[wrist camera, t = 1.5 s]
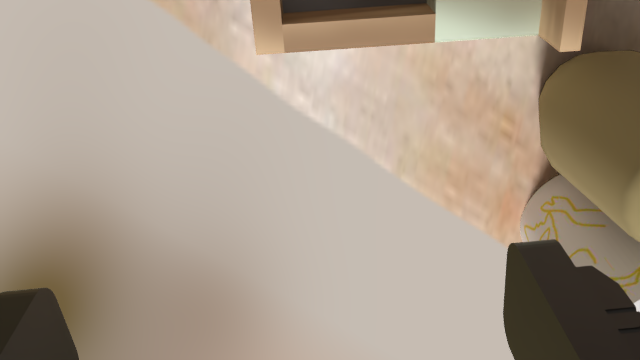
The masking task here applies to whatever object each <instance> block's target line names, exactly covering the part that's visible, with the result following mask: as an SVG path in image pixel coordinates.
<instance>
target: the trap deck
mask: <svg viewBox="0 0 640 360" xmlns="http://www.w3.org/2000/svg"><path fill="white" fill-rule="evenodd" d="M250 3H251V12H252V20H253V29H254V37H255V46H256V54H257V55H261V54H276V53H290V52H304V51H319V50H333V49H348V48H362V47H377V46H391V45H405V44H420V43H434V42H449V41H463V40H477V39H492V38H506V37H521V36H535V35H539V36H540V37H541V38H542V39H544V40H545V41H546V42H547V43H549V44H550V45H551V46H553V47H554V48H555V49H556V50H558V51H559V52H568V51H580V49H581V42H582V36H583V29H584V23H585V16H586V9H587V3H588V0H250Z"/></svg>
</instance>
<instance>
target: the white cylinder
mask: <svg viewBox="0 0 640 360" xmlns="http://www.w3.org/2000/svg"><path fill="white" fill-rule="evenodd" d="M520 234H521V238H522V241H523V242H530V241H540V240H551V239H555V240H557V241H558V242H559V243H560V244H561V246H562V247H563V249H564V250H565V252H566V253H567V255H568V256H569V258H570V259H571V260H572V262H573V263H574V265H575V266H576V267H581V266H591V265H592V266H593V267H595V268H596V269H598V270H599V271H601V272H602V273H604V274H605V275H607V276H608V277H610V278H611V279H613V280H614V281H615V282H617V283H618V284H619V285H620V286H621V287H622V289H623V290H624V291H625V293H626V294H627V295H628V297H629V298H630V299H631V301H632V302H633V303H634V305H635V306H636V311H637V312H638V311H640V242H638V241H637V240H635V239H634V238H632V237H631V236H629V235H628V234H627V233H626V232H625V231H624V230H623V229H622V228H620V227H619V226H618V225H617V224H616V223H615V222H614V221H613V220H611V219H610V218H609V217H608V216H607V215H606V214H605V213H604V212H603V211H601V210H600V209H599V208H598V207H597V206H596V205H595V204H594V203H592V202H591V201H590V200H589V199H588V198H587V197H586V196H585V195H583V194H582V193H581V192H580V191H579V190H578V189H577V188H576V187H574V186H573V185H572V184H571V183H570V182H569V181H568V180H567V179H566V178H564V177H563V176H562V175H561V174H560V175H558V176H556V177H554V178H553V179H551V180H549V181H548V182H547V183H545V184H544V185H543V186H542V187H540V188H539V189H538V190H537V191H536V192H535V194H534V195H533V196H532V197H531V198H530V200H529V201H528V203H527V205H526V207H525V209H524V211H523V214H522V217H521V222H520Z"/></svg>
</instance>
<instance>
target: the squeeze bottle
mask: <svg viewBox="0 0 640 360" xmlns="http://www.w3.org/2000/svg"><path fill="white" fill-rule="evenodd" d="M539 122H540V138H541V147H542V149H543V151H544V152H545V154H546V156H547V158H548V160H549V162H550V164H551V166H552V167H553V168H554V169H555V170H557V171H558V172H559V173H560V174H561V175H562V176H563V177H564V178H566V179H567V180H568V181H569V182H570V183H571V184H572V185H573V186H574V187H576V188H577V189H578V190H579V191H580V192H581V193H582V194H583V195H585V196H586V197H587V198H588V199H589V200H590V201H591V202H592V203H594V204H595V205H596V206H597V207H598V208H599V209H600V210H601V211H603V212H604V213H605V214H606V215H607V216H608V217H609V218H610V219H611V220H613V221H614V222H615V223H616V224H617V225H618V226H619V227H620V228H622V229H623V230H624V231H625V232H626V233H627V234H628V235H629V236H631V237H632V238H634V239H635V240H637V241H638V242H640V52H636V51H631V50H627V51H598V52H592V53H587V54H582V55H578V56H576V57H574V58H572V59H571V60H569V61H567V62H565V63H564V64H562V65H560V66H559V67H558V68H557V69H556V71H555V72H554V73H553V74H552V75H551V76H550V77H549V78H548V79H547V81H546V83H545V85H544V87H543V90H542V92H541V95H540V97H539Z"/></svg>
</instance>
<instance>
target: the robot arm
mask: <svg viewBox="0 0 640 360" xmlns="http://www.w3.org/2000/svg"><path fill="white" fill-rule="evenodd" d="M504 295H505V296H504V309H503V310H504V311H503V315H504V316H503V317H504V327H505V333H506V337H507V341H508V344H509V347H510V350H511V352H512V354H513V356H514V359H515V360H640V311H638V312H637V311H636V306H635V305H634V303H633V302H632V301H631V299H630V298H629V297H628V295H627V294H626V293H625V291H624V290H623V289H622V287H621V286H620V285H619V284H618V283H617V282H615V281H614V280H613V279H611V278H610V277H608V276H607V275H605V274H604V273H602V272H601V271H599V270H598V269H596V268H595V267H593V266H592V265H591V266H581V267H576V266H575V265H574V263H573V262H572V260H571V259H570V258H569V256H568V255H567V253H566V252H565V250H564V249H563V247H562V246H561V244H560V243H559V242H558V241H557V240H555V239H551V240H540V241H530V242H520V243H511V244H510V245H509V248H508V252H507V264H506V279H505V294H504ZM0 360H79V358H78V353H77V350H76V347H75V345H74V342H73V340H72V337H71V334H70V332H69V329H68V327H67V324H66V322H65V319H64V317H63V314H62V312H61V309H60V307H59V304H58V302H57V299H56V297H55V295H54V293H53V292H52V291H51V290H50V289H48V288H38V289H28V290H18V291H7V292H2V293H0Z"/></svg>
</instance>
